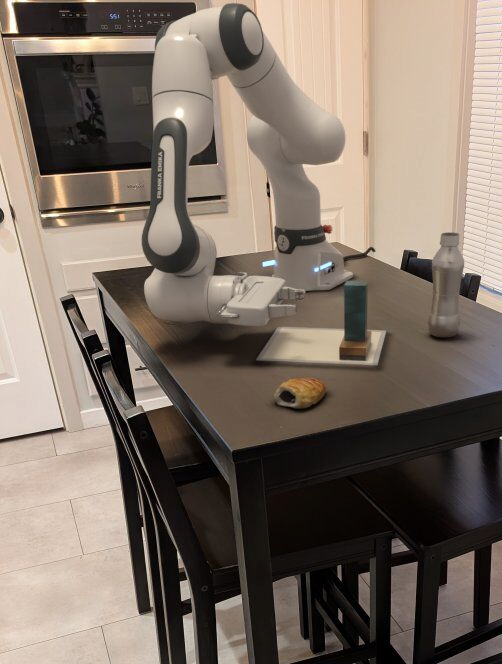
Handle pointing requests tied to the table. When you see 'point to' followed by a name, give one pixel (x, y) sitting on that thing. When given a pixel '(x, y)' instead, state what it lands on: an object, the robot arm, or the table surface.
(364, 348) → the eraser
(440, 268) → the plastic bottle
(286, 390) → the pastry
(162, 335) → the table surface
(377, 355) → the whiteboard
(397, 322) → the table surface
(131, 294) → the table surface
